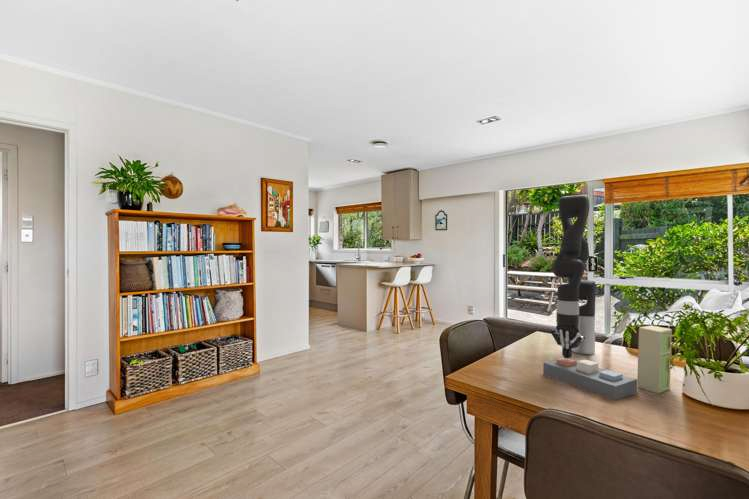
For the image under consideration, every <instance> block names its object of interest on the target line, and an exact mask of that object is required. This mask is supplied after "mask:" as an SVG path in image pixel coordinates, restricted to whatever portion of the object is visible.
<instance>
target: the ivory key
mask: <svg viewBox="0 0 749 499" xmlns="http://www.w3.org/2000/svg"><path fill="white" fill-rule="evenodd" d="M576 361H577V370H579V371H582V372H585V373H588V374H593V373H597V372H598V368H599V362H595V361H592V360H588V359H581V360H576Z"/></svg>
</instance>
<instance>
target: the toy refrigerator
mask: <svg viewBox="0 0 749 499" xmlns="http://www.w3.org/2000/svg"><path fill="white" fill-rule="evenodd" d="M672 332H673V330H672V328H668V327H661V326H657V325H644V326H640V327H638V347H637V348H638V349H637V378H636V379H637V388H639V389H643V390H646V391H649V392H652V393H655V394H661V393H663V392H666V391H669V390H670V389H671V365H672V362H671V363H670V359H669V357H670V356H671V357H672V339H673V338H672V337H673V335H672V334H673V333H672ZM666 344H667V345H666ZM668 345H671V346H668Z"/></svg>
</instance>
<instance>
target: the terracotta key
mask: <svg viewBox="0 0 749 499" xmlns="http://www.w3.org/2000/svg"><path fill="white" fill-rule="evenodd" d="M556 360H557V364H560V365H563V366H566V367H572V366H576V365H577V361H578V360H576V359H573V358H568V359H567V358H564V357H559V358H556Z"/></svg>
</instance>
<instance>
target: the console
mask: <svg viewBox="0 0 749 499" xmlns="http://www.w3.org/2000/svg"><path fill="white" fill-rule="evenodd" d="M542 364H543V369H542V371H543V372H542V374H543V375H544V376H547V377H549V378H552V379H555V380H558V381H561V382H562V383H566V384H569V385H571V386H573V387H574V386H575V387H577V388H580V389H582V390H586V391H588V392H591V393H593V394H595V395H596V394H598V395H600V396H602V397H605V398H608V399H610V400H614V401H617V400H620V399H623V398H626V397H628V396H631V395H634V394H637V392H638V386H637V378H633V377H630V376H628V375H627V376H626V375H624V374H622V380H620V381H616V382H613V381H610V380H607V379H604V378H601V377H599V372H602V371H605V370H606V369H603V368H600V367H598V372H597V373H593V374H588V373H585V372H582V371H579V370H577V365H576V366H572V367H566V366H563V365H560V364H557V359H553V360H548V361H545V362H543V363H542Z"/></svg>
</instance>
